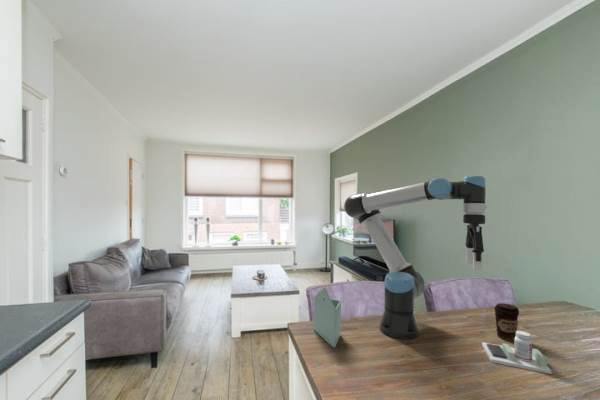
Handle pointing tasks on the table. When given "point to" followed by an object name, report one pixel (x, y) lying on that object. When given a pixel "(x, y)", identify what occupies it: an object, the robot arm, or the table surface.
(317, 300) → the green magazine holder
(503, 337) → the coffee cup
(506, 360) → the dock
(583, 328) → the table surface
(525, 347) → the pill bottle
